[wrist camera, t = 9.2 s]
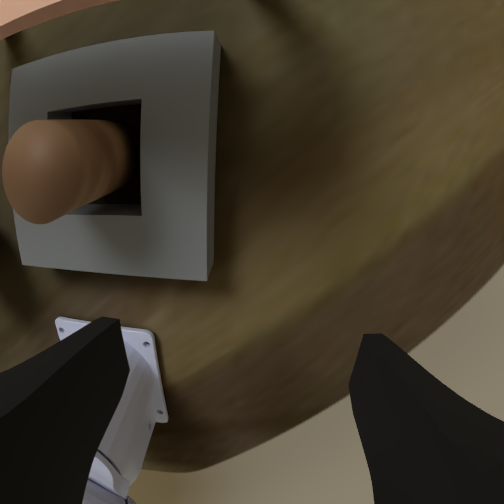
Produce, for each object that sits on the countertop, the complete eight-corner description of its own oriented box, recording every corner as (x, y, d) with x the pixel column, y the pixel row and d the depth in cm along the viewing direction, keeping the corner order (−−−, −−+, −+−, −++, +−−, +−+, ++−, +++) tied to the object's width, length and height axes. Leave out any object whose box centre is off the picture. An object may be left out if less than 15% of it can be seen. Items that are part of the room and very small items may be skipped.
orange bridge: (259, 62, 14) (255, -30, 5) (-3, 98, 14) (-115, 107, 5) (264, -29, 12) (264, -150, 3) (7, 23, 12) (-93, 4, 3)
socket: (213, 261, 18) (207, 281, 16) (43, 250, 18) (22, 264, 16) (221, 45, 14) (214, 30, 11) (36, 72, 14) (12, 68, 12)
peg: (145, 188, 17) (80, 223, 10) (85, 191, 17) (8, 225, 10) (143, 116, 15) (73, 111, 9) (81, 125, 15) (-1, 130, 9)
